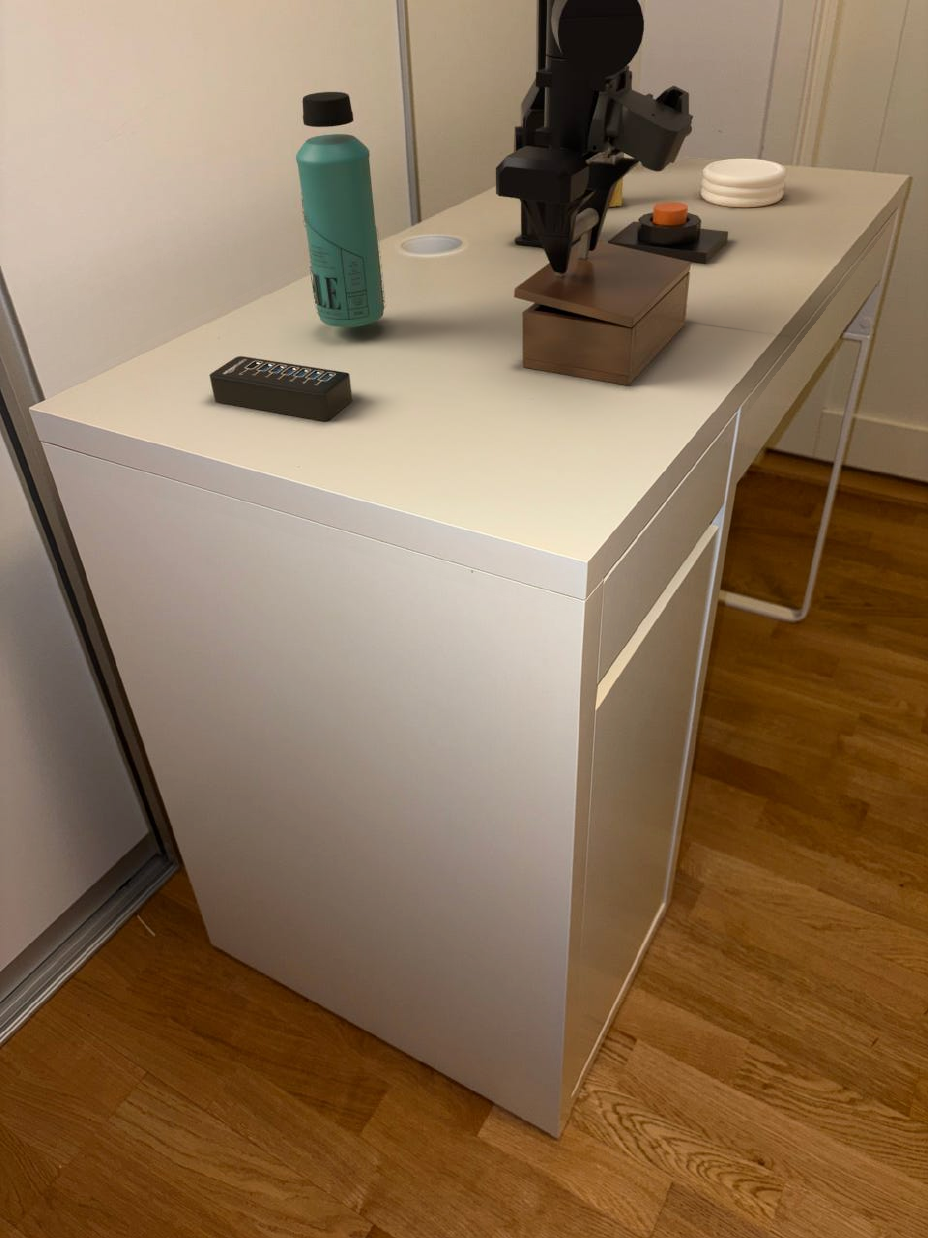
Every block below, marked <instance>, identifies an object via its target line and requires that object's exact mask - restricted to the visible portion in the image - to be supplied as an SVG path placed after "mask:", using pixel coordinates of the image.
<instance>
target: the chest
mask: <svg viewBox="0 0 928 1238" xmlns="http://www.w3.org/2000/svg"><path fill="white" fill-rule="evenodd" d="M690 276H691V272H690V271H689V272H688V273H687V274H686V275H685V276H684V277H683V278H682V279H681V280H680V281H679V282H678V283H677V284H676V285H675V286H674V287H673V288H672V289H671V290H670V291H669V292H668V293H667V294H666V295H665V296H663V297H662V298H661V299H660V300H659V301H658V302H657V303H656V304H655V305H654V306H653V307H652V308H651V309H650V310H649V311H648V312H647V313H646V314H645V315H644V316H643V317H642V318H641V319H640V320H639V321H638V322H637V323H636V324H635V325H634V326H633V327H627V326H623V325H619V324H615V323H612V322H608V321H604V320H600V319H596V318H592V317H588V316H584V315H581V314H577V313H573V312H569V311H565V310H561V309H557V308H553V307H550V306H546V305H542V304H538V303H534V302H533V304H532V305H530V306H529V307H527V308H526V309H525V310H523V312H522V368H526V369H532V370H537V371H543V372H548V373H549V372H550V373H555V374H560V375H566V376H572V377H577V378H582V379H589V380H595V381H600V382H606V383H612V384H617V385H622V386H630V385H631V383H632V382H633V381H635V379H636V378H637V377H638V376H639V375H640V374H641V373H642V372H643V370H645V368H646V367H647V366H648V365H649V364H650V363H651V361H653V360H654V358H655V357H657V355H658V354H660V352H661V351H662V350H663V349H664V347H666V345H667V344H668V343H669V342H670V341H671V340H672V339H673V338H674V337H675V335H676V334H677V333H678V332H679V331H680V330H681V329H682V328H683V327H684V326H685V325H686V318H687V317H686V315H687V308H688V299H689V296H688V295H689V288H690V287H689V286H690V279H691V278H690Z"/></svg>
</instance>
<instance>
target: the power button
mask: <svg viewBox="0 0 928 1238" xmlns="http://www.w3.org/2000/svg"><path fill="white" fill-rule="evenodd" d="M652 210H653V211H652V212H653V223H656V224H662V225H680V224H684V223H686V222H687V212H688V210H689V207H688V205H687V204H685V203H683V202H677V201H663V202H658V203H655V204H654V205H653V209H652Z"/></svg>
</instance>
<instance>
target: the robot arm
mask: <svg viewBox="0 0 928 1238" xmlns="http://www.w3.org/2000/svg"><path fill="white" fill-rule="evenodd" d="M535 20H536V21H535V23H536V25H535V26H536V28H535V32H536V33H535V78H534V80H533V82H532V84H531V85H530V88H529V89H528V91H527V92H526V94H525V96H524V98H523V100H522V102H521V103H520V125H519V126H517V125H516V126H514V133H513V152H512V153H509V154H508V155H506V156H505V157H504V158H503V159H502V160H501V162H500V163H498V164H497V166H496V167H495V194H496V195H497V196H498V197H503V198H510V199H517V200H519V201H520V235H518V236H517V237H515V238H514V244H516V245H523V246H532V247H540V248H543V250H544V253H545V255H546V258H547V260H548V262H549V263H550V264H551V267H552V269H553V271H554V272H558V273H565V272H566V271H567V268H568V263H569V259H570V254H571V248H572V246H573V245H574V244H576V243H577V242H579V241H581V237H580V238H578V239H577V240H575V241H574V242H573V236H574V230H575V224H576V218H577V215H578V214H580V213H581V212H582V211H584V210H585V209H587V208H592V209H594V210H596V211H597V213H598V215H599V221H598V224H597V225H596V226H595V227H593V228H592V232H591V240H590V247H589V251H593V250H595V248H596V246H597V243H598V241H599V239H600V236H601V232H602V229H603V226H604V223H605V220H606V218H607V214H608V211H609V208H610V207H609V205H610V202H611V199H612V196H613V193H614V190H615V187H616V185H617V183H618V182H619V180H621V179H622V178H623V179H624V177H625V176H627V175H628V173H630V172H631V171H632V170H634V168H635V167H636V166H638V165H639V163H640V164H641V166H642V167H644V168H646V169H648V170H650V171H652V172H662V171H664V170H665V168H666V167H667V166H668V165H669V164H674V163H675V161H676V160H677V157H678V156H679V153H680V151H681V148H682V146H683V145H684V141H685V139H686V137H688V136H690V135H691V133H692V131H693V126H692V123H693V119H694V115H693V114H691V113H690V93H689V92H688V91H686V90H684V89H682V88H680V87H678V86H676V85H672V86H670V87H669V88H667V89H665V90H664V91H662V93H660V94H659V96H657V97H656V98H654V94H652V93H650V92H649V93H647V94H643V93H641V92H639V91H636V90H635V89H633V86H632V85H633V71H632V70H630V63H631V62H632V61H633V59H634V58H635V56H636V55H637V53H638V52H639V49H640V47H641V44H642V42H643V37H644V31H645V19H644V14H643V9H642V6H641V4H640V2H639V0H536V19H535ZM625 155H627V156H628V157H625ZM572 242H573V243H572Z"/></svg>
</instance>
